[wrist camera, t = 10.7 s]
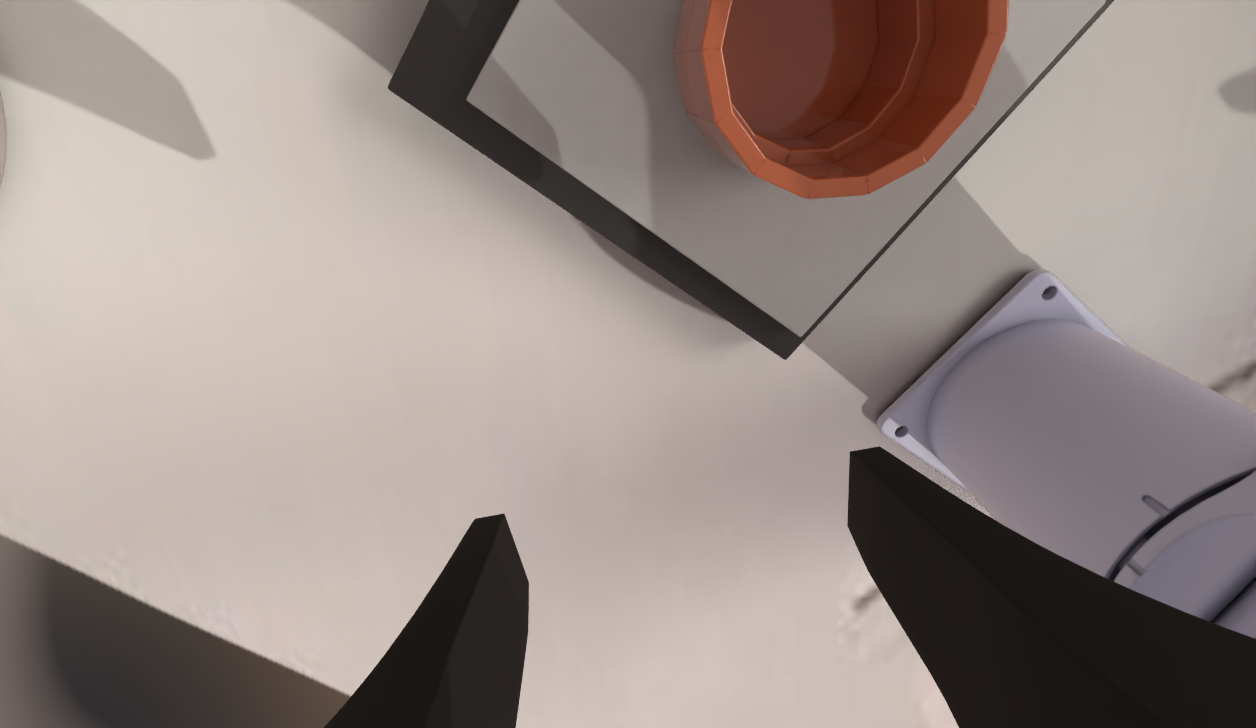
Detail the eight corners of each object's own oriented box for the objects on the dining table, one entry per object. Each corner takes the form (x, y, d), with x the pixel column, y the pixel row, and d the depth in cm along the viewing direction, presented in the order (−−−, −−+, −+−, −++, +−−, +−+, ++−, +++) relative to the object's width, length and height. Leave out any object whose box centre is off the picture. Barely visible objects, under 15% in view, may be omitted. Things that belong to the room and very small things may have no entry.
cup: (947, 15, 14) (1075, -3, 10) (788, 211, 16) (848, 252, 12) (781, -167, 12) (867, -266, 8) (624, 79, 14) (640, 84, 10)
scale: (1071, -9, 16) (1156, -22, 14) (768, 335, 20) (793, 371, 18) (693, -491, 11) (723, -636, 9) (407, 86, 16) (376, 89, 14)
